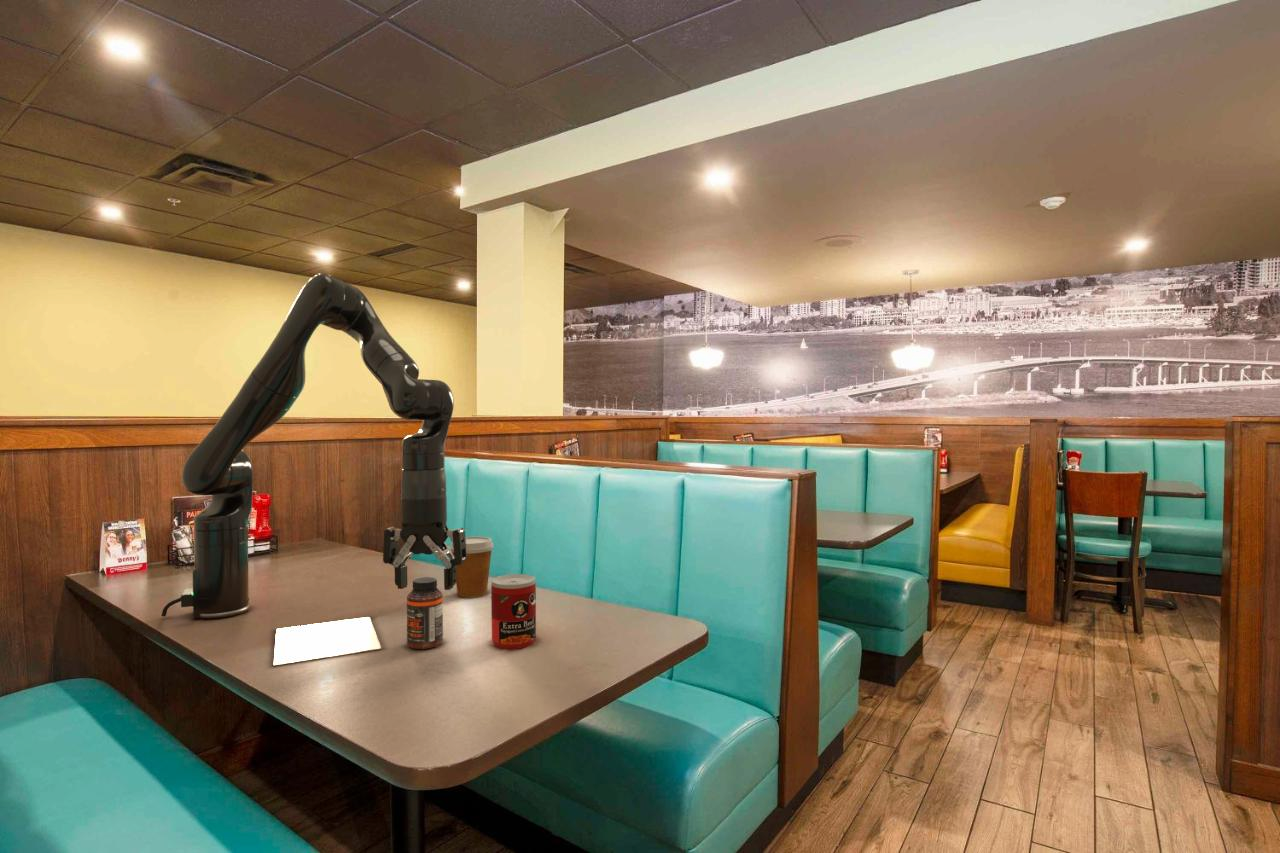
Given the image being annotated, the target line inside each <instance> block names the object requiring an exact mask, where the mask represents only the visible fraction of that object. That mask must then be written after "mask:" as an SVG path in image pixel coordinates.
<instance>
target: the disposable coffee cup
mask: <svg viewBox="0 0 1280 853" xmlns="http://www.w3.org/2000/svg"><path fill="white" fill-rule="evenodd" d="M465 538H466V552H467V560H466V561H465V562H464V563H462V564H460V565H457V567H456V584H455V586H456V592H457V593H456V594H457V596H458V597H459V598H460V597H461V598H469V599H470V598H479V597H482V596H485V595H486V594H487V592H488V584H489V576H490V569H491V560H492V550H494V549H493V548H494V546H495V544H494V543H493V541H492V537H491V538H490V537H488V536H487V537H486V536H465ZM449 548H450V549H451V553H452V554H453V556H454V547H453V542H452V541H451V544H450V545H449Z"/></svg>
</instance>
